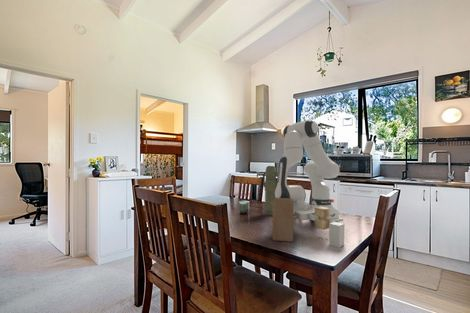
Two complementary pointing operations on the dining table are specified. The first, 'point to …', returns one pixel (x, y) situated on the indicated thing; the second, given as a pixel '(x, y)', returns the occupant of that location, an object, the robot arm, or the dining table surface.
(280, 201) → the block
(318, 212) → the oak block
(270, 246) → the dining table surface
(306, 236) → the dining table surface
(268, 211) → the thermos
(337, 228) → the grey block
